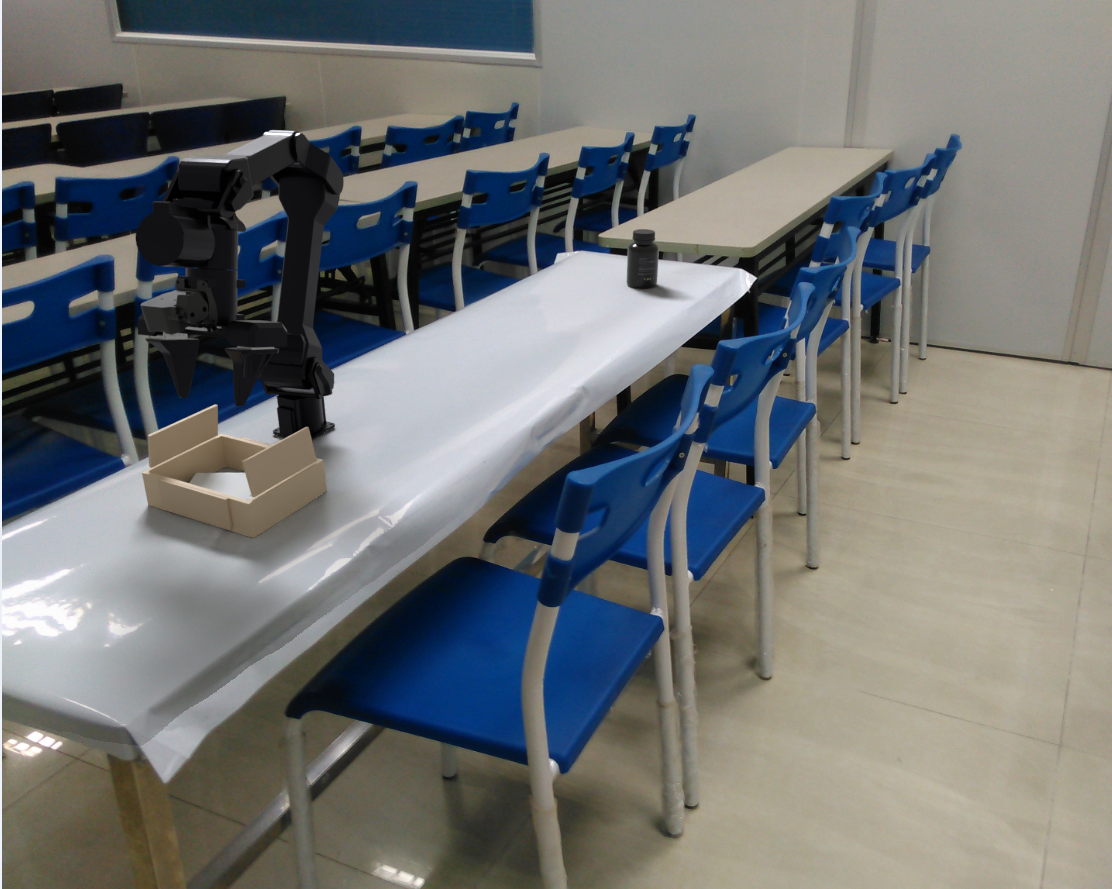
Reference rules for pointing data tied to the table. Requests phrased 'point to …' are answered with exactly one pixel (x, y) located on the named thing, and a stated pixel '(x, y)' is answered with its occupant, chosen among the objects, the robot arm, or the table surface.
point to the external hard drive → (224, 483)
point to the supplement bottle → (642, 260)
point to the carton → (245, 517)
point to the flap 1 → (182, 435)
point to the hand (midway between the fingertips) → (211, 401)
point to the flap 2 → (279, 461)
